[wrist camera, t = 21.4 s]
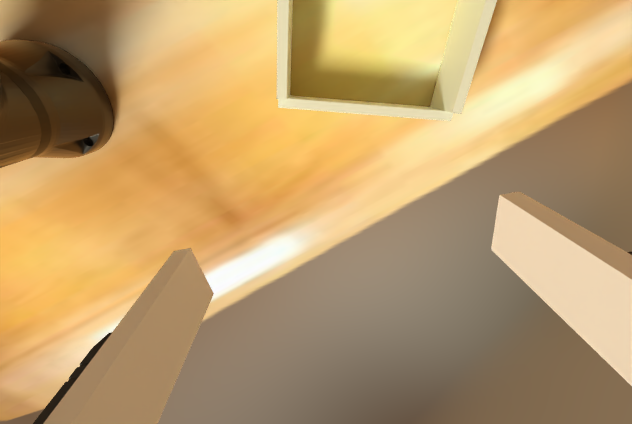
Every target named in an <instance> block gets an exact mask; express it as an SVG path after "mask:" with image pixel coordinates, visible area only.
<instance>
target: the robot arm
mask: <svg viewBox="0 0 632 424" xmlns="http://www.w3.org/2000/svg"><path fill="white" fill-rule="evenodd" d="M112 129H113V112H112V107H111V104H110V101H109V98H108V96H107V94H106V92H105V90H104V88H103V87H102V85H101V84H100V82H99V81H98V79H97V78H96V77H95V76H94V74H93V73H92V72H91V71H90V70H89V69H88V68H87V67H86V66H85V65H84V64H83V63H82V62H81V61H79V60H78V59H77V58H75V57H74V56H73V55H71V54H69V53H68V52H66V51H64V50H62V49H60V48H58V47H56V46H54V45H51V44H47V43H44V42H38V41H30V40H18V39H16V40H5V41H1V42H0V168H2V167H5V166H8V165H11V164H14V163H17V162H20V161H23V160H26V159H29V158H33V157H48V158H74V157H80V156H83V155H86V154H89V153H92V152H94V151H97V150H98V149H100V148H101V147H103V146H104V145H105V144H106V142H107V141H108V140H109V138H110V136H111V133H112ZM491 250H492V251H493V252H494V253H495V254H496V255H497V256H499V257H500V259H502V260H503V261H504V262H505V263H506V264H507V265H508V266H509V267H510V268H511V269H512V270H513V271H514V272H515V273H516V274H517V275H518V276H519V277H520V278H521V279H522V280H523V281H524V282H525V283H526V284H527V285H528V286H529V287H530V288H531V289H532V290H533V291H534V292H535V293H537V294H538V295H539V296H540V297H541V298H542V299H543V300H544V301H545V302H546V303H547V304H548V305H549V306H550V307H551V308H552V309H553V310H554V311H555V312H556V313H557V314H558V315H559V316H560V317H561V318H562V319H563V320H564V321H565V322H566V323H567V324H568V325H569V326H571V327H572V328H573V329H574V330H575V331H576V332H577V333H578V334H579V335H580V336H581V337H582V338H583V339H584V340H585V341H586V342H587V343H588V344H589V345H590V346H591V347H592V348H593V349H594V350H595V351H596V352H597V353H598V354H599V355H600V356H601V357H602V358H604V359H605V360H606V361H607V362H608V363H609V364H610V365H611V366H612V367H613V368H614V369H615V370H616V371H617V372H618V373H619V374H620V375H621V376H622V377H623V378H624V379H625V380H626V381H627V382H628V383H629V384H630V385H631V386H632V252H625V251H623V250H622V249H620V248H618V247H616V246H615V245H613V244H611V243H609V242H608V241H606V240H604V239H602V238H601V237H599V236H597V235H595V234H593V233H592V232H590V231H588V230H586V229H585V228H583V227H581V226H579V225H578V224H576V223H574V222H572V221H571V220H569V219H567V218H565V217H563V216H562V215H560V214H558V213H556V212H555V211H553V210H551V209H549V208H548V207H546V206H544V205H542V204H541V203H539V202H537V201H535V200H533V199H532V198H530V197H528V196H526V195H525V194H523V193H521V192H513V193H507V194H501V195H500V196H499V202H498V209H497V215H496V222H495V229H494V235H493V241H492V248H491ZM212 296H213V292H212V290H211V288H210V286H209V284H208V282H207V280H206V278H205V276H204V274H203V272H202V270H201V268H200V266H199V264H198V262H197V260H196V258H195V256H194V254H193V252H192V250H191V248H189V249H183V250H177V251H174V252H173V253H172V254H171V256H170V257H169V258H168V260H167V261H166V262H165V264H164V265H163V266H162V268H161V269H160V270H159V272H158V273H157V274H156V275H155V277H154V278H153V279H152V281H151V282H150V283H149V285H148V286H147V287H146V289H145V290H144V291H143V293H142V294H141V295H140V297H139V298H138V299H137V301H136V302H135V303H134V305H133V306H132V307H131V308H130V310H129V311H128V312H127V314H126V315H125V316H124V318H123V319H122V320H121V322H120V323H119V324H118V326H117V327H116V328H115V330H114V331H113V332H112V333H109V334H107V335H106V336H105V337H104V338H103V339H102V340H101V341H100V342H98V343H97V344H96V345H95V346H94V347H93V348H92V349H91V350H90V352H89V353H88V354H87V356H86V357H85V358H84V359H83V361H82V362H81V363H80V367H77V368H76V369H75V371H74V372H73V373H72V375H71V376H70V377H69V381H68V382H65V383H64V385H63V386H62V387H61V389H60V390H59V391H58V392H57V394H56V395H55V396H54V397H53V399H52V400H51V401H50V403H49V404H48V405H47V406H46V408H45V409H44V410H43V411H42V413H41V414H40V415H39V417H38V418H37V419H36V420H35V422H34V423H33V424H158V421H159V419H160V417H161V414H162V412H163V409H164V407H165V405H166V403H167V400H168V398H169V396H170V393H171V391H172V389H173V387H174V384H175V382H176V380H177V377H178V375H179V373H180V370H181V368H182V366H183V363H184V361H185V358H186V356H187V354H188V352H189V349H190V347H191V345H192V343H193V340H194V338H195V336H196V333H197V331H198V329H199V326H200V324H201V322H202V319H203V317H204V315H205V313H206V310H207V308H208V306H209V303H210V301H211V299H212Z"/></svg>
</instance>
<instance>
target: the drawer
mask: <svg viewBox="0 0 632 424" xmlns="http://www.w3.org/2000/svg"><path fill="white" fill-rule="evenodd" d="M496 2H497V0H458V1H457V4H456V8H455V12H454V16H453V20H452V24H451V28H450V31H449V35H448V39H447V43H446V47H445V51H444V55H443V58H442V62H441V66H440V70H439V74H438V78H437V82H436V85H435V89H434V93H433V97H432V101H431V105H430V107H426V106H414V105H402V104H389V103H377V102H365V101H353V100H340V99H328V98H316V97H304V96H291V95H290V85H291V50H292V15H293V0H277V99H278V108H291V109H303V110H316V111H329V112H342V113H354V114H367V115H380V116H392V117H405V118H418V119H430V120H443V121H451V119H452V116H453V113H457V114H461V113H462V110H463V107H464V104H465V101H466V97H467V94H468V91H469V88H470V85H471V82H472V78H473V75H474V72H475V69H476V66H477V63H478V59H479V56H480V53H481V50H482V47H483V43H484V40H485V37H486V34H487V31H488V28H489V24H490V21H491V18H492V15H493V12H494V9H495V5H496Z"/></svg>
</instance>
